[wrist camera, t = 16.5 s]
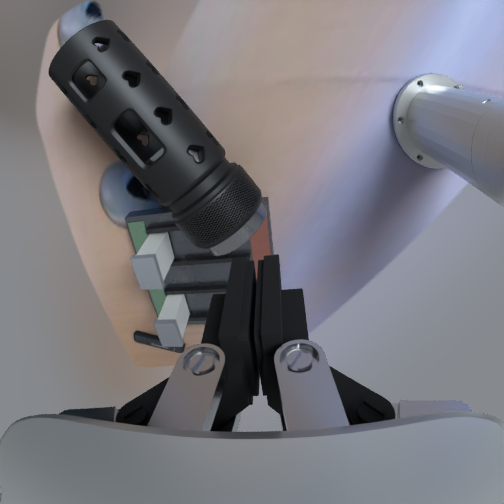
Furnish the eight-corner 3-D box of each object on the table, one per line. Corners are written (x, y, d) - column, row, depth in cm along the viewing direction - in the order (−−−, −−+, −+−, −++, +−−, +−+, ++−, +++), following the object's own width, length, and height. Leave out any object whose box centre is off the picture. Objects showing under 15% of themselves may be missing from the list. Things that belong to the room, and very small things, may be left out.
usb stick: (135, 337, 56) (133, 343, 55) (135, 328, 55) (132, 333, 53) (184, 349, 57) (182, 356, 55) (185, 340, 55) (183, 346, 54)
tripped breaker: (185, 291, 46) (174, 323, 40) (191, 314, 48) (182, 346, 43) (166, 292, 47) (153, 323, 41) (173, 314, 49) (162, 346, 43)
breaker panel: (268, 197, 41) (268, 206, 38) (278, 312, 50) (278, 325, 48) (130, 211, 43) (122, 221, 40) (163, 316, 52) (159, 328, 50)
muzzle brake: (131, 22, 29) (89, 13, 20) (273, 190, 40) (274, 229, 31) (80, 75, 32) (30, 84, 23) (214, 229, 43) (200, 275, 35)
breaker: (169, 229, 41) (153, 257, 35) (176, 258, 43) (163, 288, 38) (148, 232, 42) (130, 259, 36) (156, 260, 44) (140, 289, 38)
